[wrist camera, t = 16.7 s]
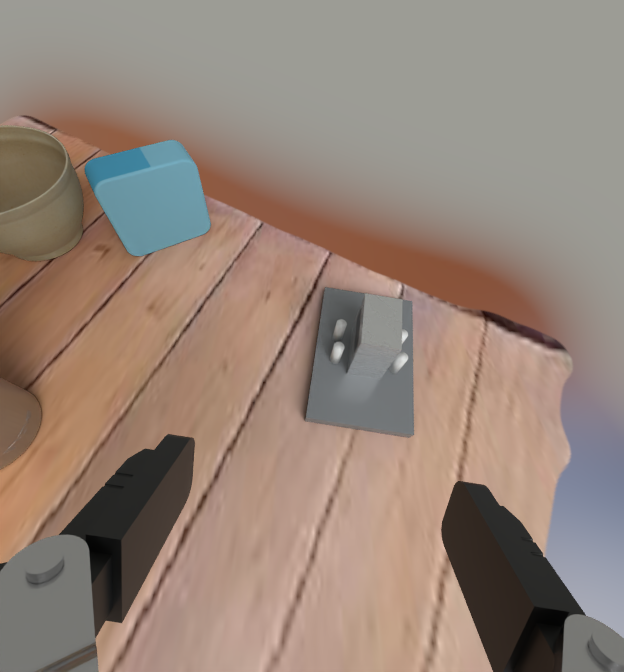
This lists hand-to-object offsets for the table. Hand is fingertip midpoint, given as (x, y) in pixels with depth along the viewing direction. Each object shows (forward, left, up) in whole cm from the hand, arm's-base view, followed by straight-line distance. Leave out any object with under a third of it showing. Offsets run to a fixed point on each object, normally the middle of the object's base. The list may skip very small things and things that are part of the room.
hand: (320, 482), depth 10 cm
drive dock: (+6, +18, -27) cm, 33 cm away
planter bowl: (-40, +29, -27) cm, 56 cm away
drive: (+6, +18, -25) cm, 31 cm away
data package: (-24, +33, -27) cm, 49 cm away
